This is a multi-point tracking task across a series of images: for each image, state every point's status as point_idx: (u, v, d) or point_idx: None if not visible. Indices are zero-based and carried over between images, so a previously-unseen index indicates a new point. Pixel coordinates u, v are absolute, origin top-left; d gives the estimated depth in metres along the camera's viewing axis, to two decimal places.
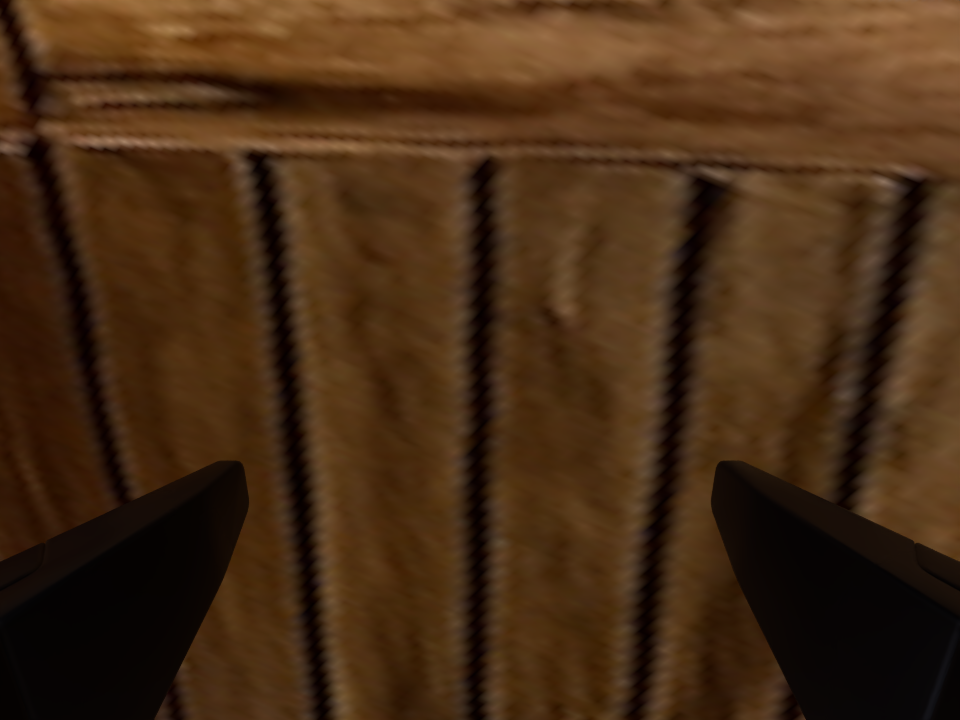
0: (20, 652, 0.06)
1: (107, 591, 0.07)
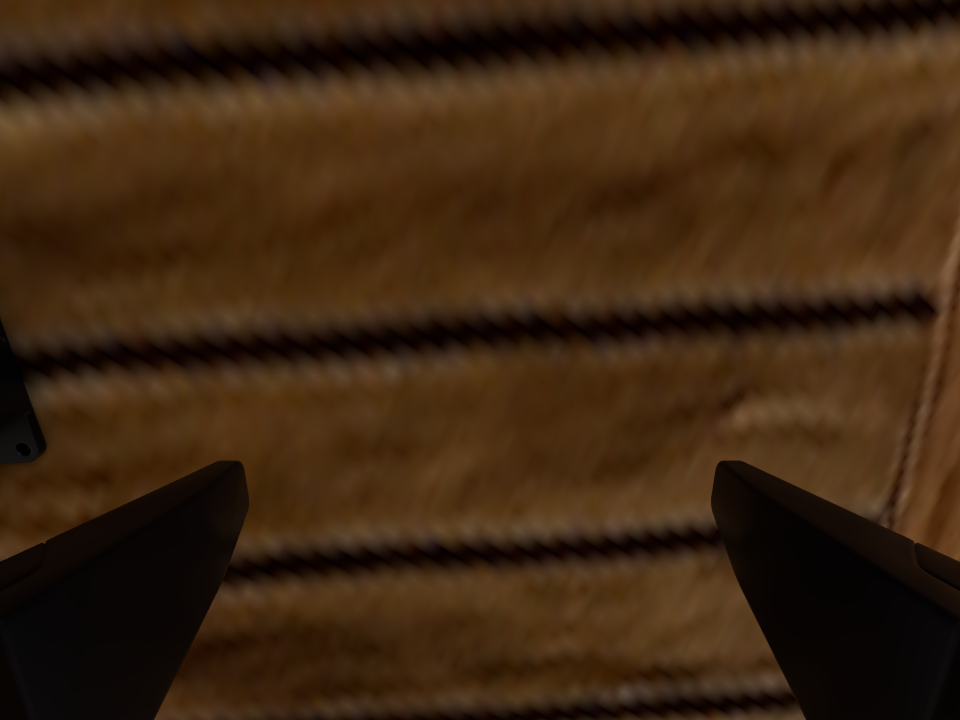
0: (20, 652, 0.06)
1: (107, 591, 0.07)
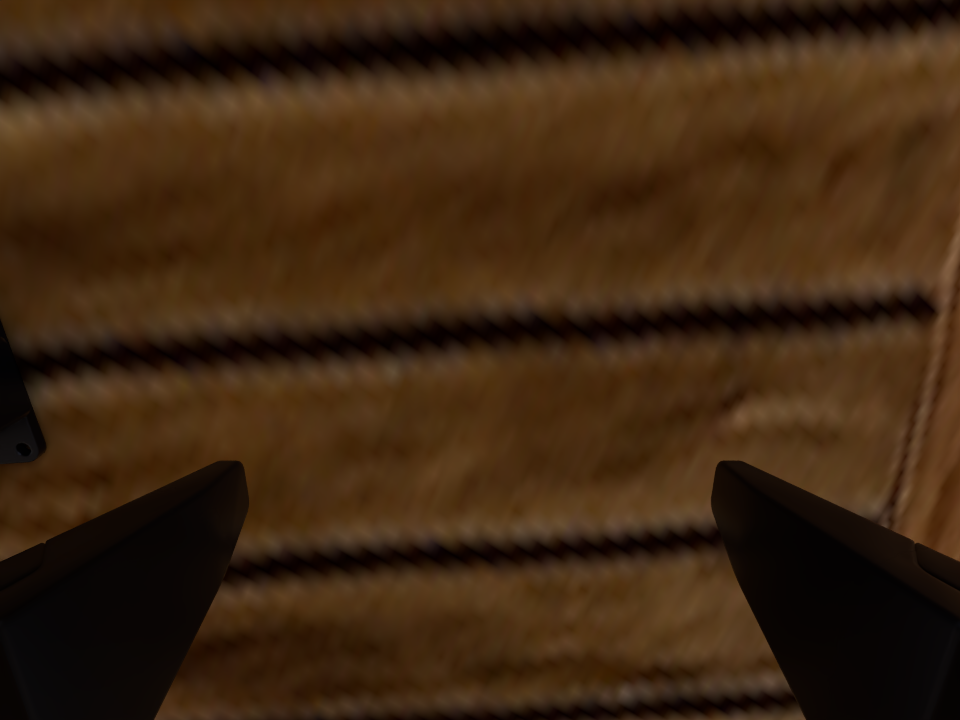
0: (20, 652, 0.06)
1: (107, 591, 0.07)
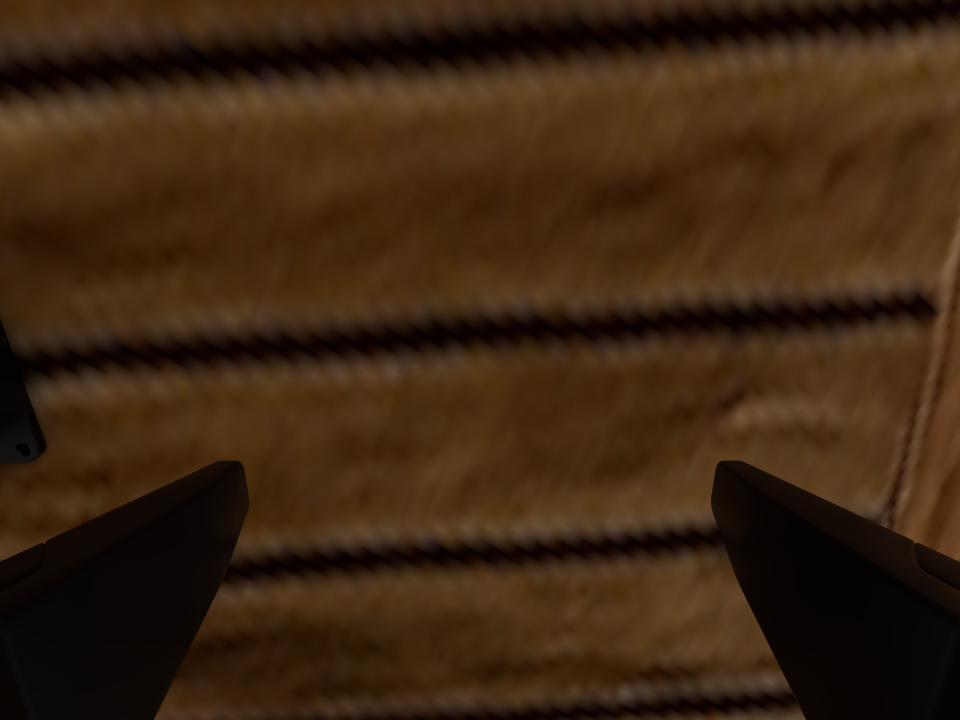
0: (20, 652, 0.06)
1: (107, 591, 0.07)
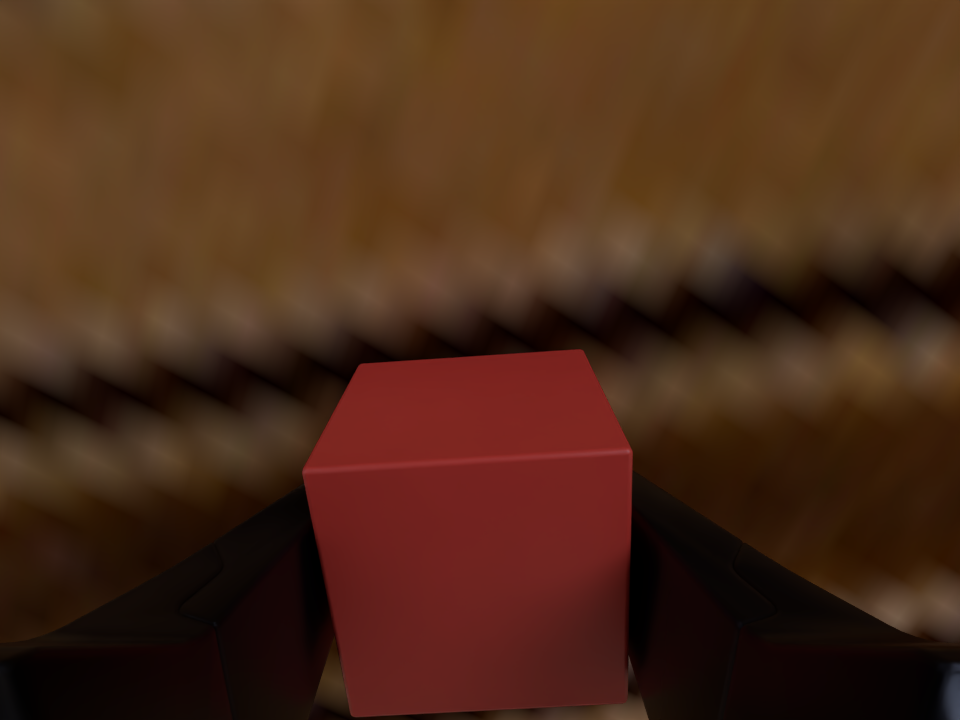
0: (228, 652, 0.06)
1: (282, 591, 0.07)
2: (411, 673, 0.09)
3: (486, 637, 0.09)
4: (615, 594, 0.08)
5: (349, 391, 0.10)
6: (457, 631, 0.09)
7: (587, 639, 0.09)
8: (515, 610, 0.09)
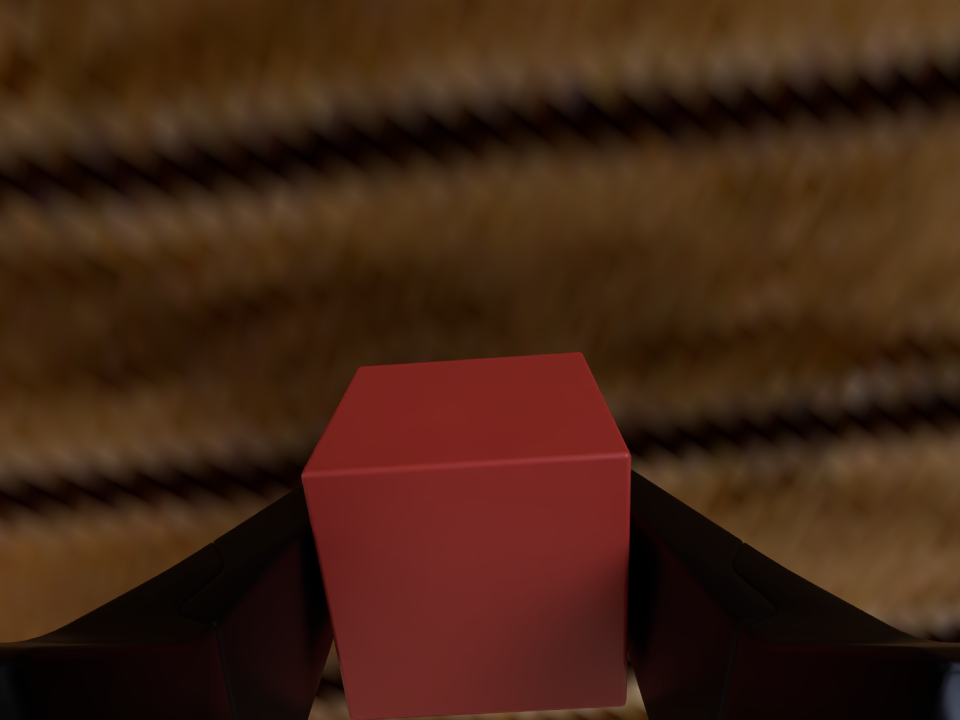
0: (228, 652, 0.06)
1: (282, 591, 0.07)
2: (410, 675, 0.09)
3: (485, 640, 0.09)
4: (614, 598, 0.08)
5: (349, 395, 0.10)
6: (456, 634, 0.09)
7: (586, 642, 0.09)
8: (513, 613, 0.09)
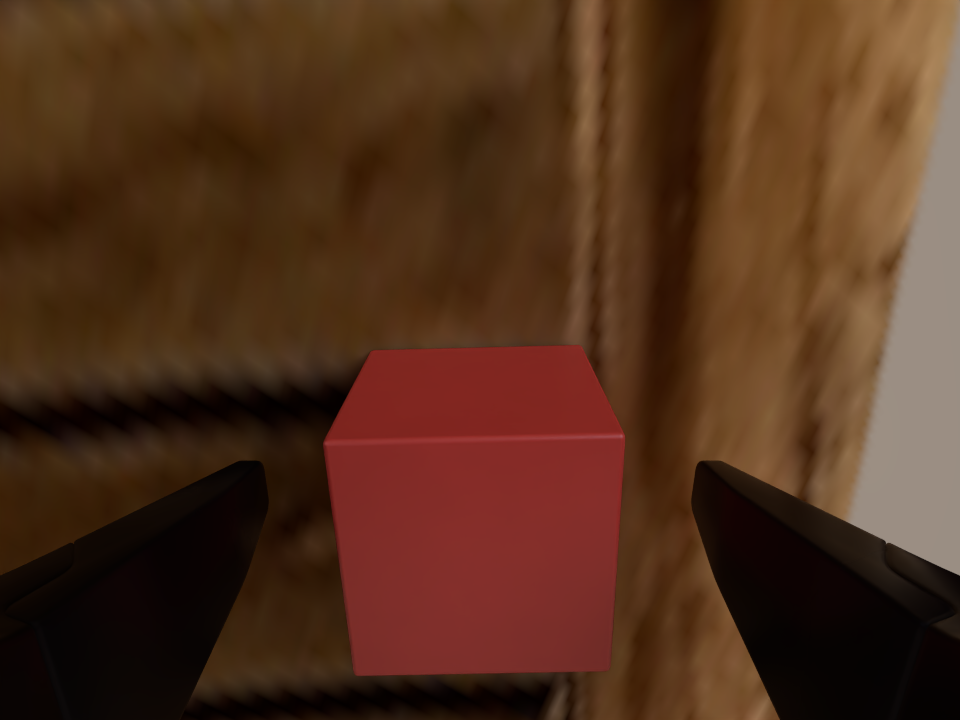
0: (55, 652, 0.06)
1: (136, 591, 0.07)
2: (412, 635, 0.10)
3: (483, 604, 0.09)
4: (603, 569, 0.09)
5: (364, 374, 0.11)
6: (456, 598, 0.09)
7: (576, 609, 0.09)
8: (511, 579, 0.09)
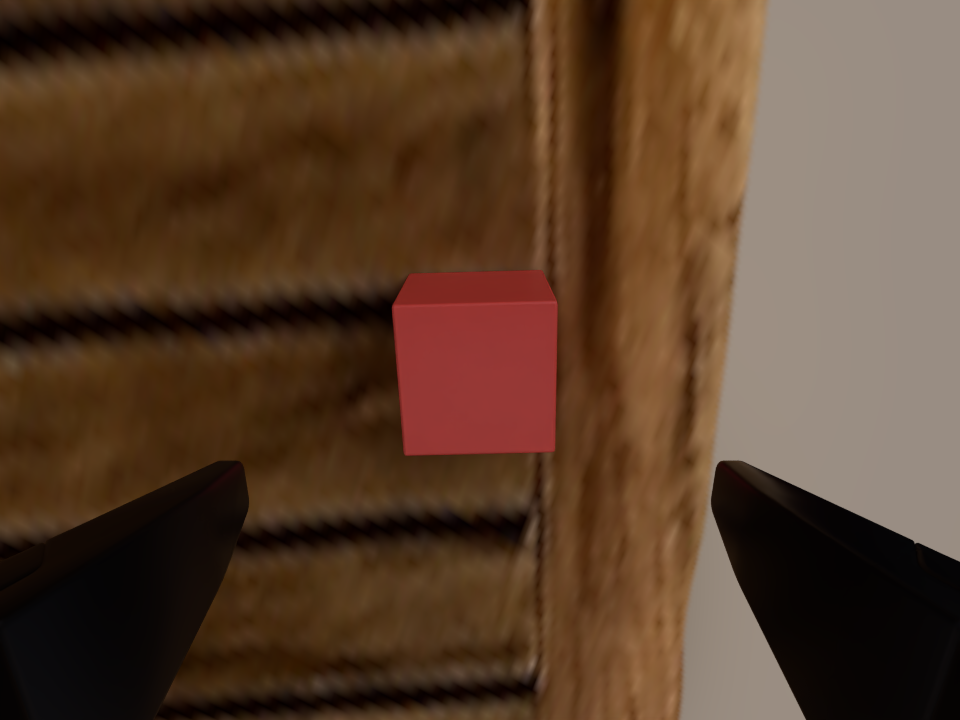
0: (20, 652, 0.06)
1: (107, 591, 0.07)
2: (439, 427, 0.17)
3: (480, 407, 0.17)
4: (548, 383, 0.16)
5: (408, 283, 0.18)
6: (465, 402, 0.16)
7: (533, 410, 0.17)
8: (495, 390, 0.16)
